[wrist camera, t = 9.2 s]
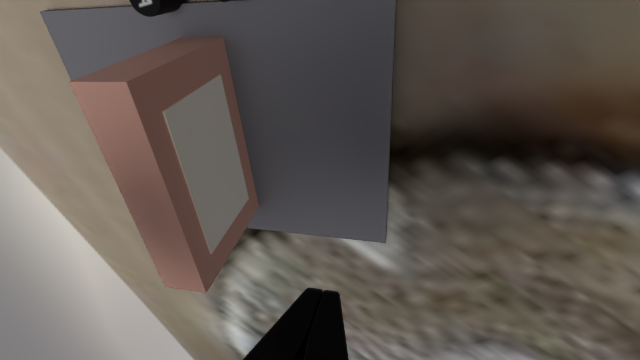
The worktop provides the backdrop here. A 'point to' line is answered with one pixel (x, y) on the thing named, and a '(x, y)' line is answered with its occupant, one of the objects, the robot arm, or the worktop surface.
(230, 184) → the card box
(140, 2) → the nameplate
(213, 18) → the mat
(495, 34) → the worktop surface
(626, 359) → the worktop surface
